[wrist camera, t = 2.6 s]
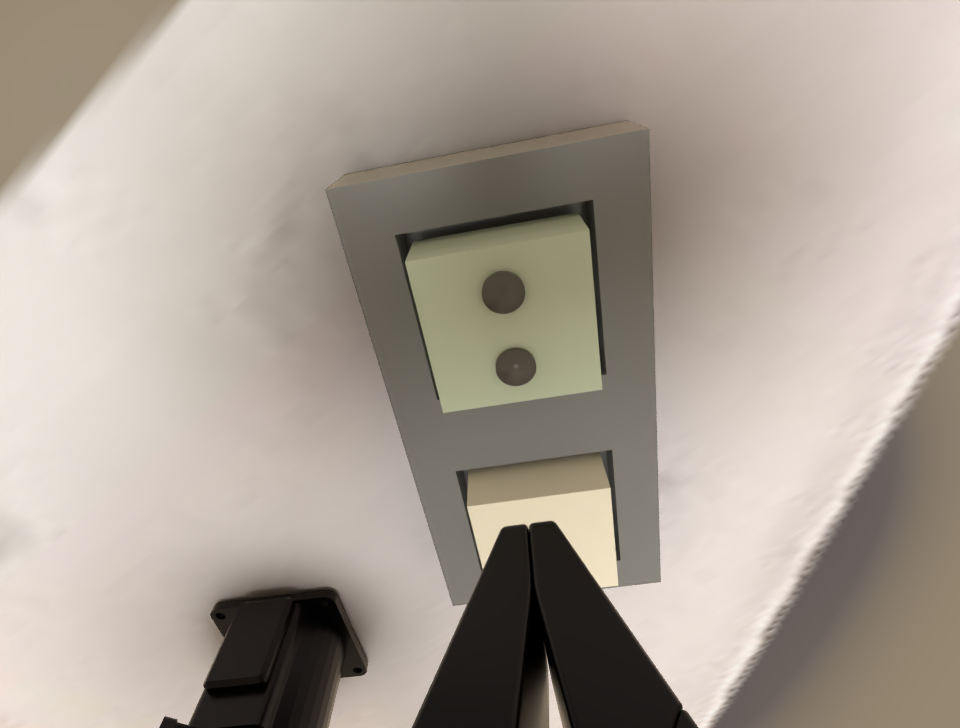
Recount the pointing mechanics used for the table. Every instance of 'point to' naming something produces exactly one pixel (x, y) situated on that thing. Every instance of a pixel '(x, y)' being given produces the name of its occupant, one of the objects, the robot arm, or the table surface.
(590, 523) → the cream tile one
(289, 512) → the table surface
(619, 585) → the panel
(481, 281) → the sage tile two
